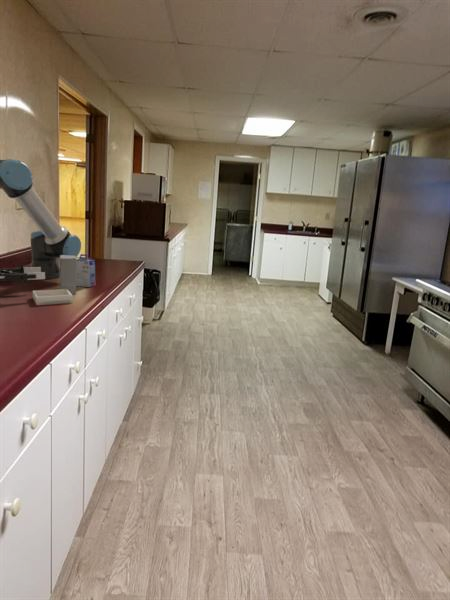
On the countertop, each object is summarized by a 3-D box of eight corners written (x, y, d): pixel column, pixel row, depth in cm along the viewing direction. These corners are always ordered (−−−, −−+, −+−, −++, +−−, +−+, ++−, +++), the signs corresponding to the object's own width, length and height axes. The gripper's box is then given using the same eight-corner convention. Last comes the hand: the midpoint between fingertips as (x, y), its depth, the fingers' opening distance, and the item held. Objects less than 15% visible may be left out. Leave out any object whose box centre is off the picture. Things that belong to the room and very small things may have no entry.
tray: (33, 298, 170) (32, 290, 170) (67, 295, 177) (66, 288, 176) (36, 305, 159) (36, 297, 159) (72, 302, 166) (72, 295, 165)
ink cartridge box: (96, 285, 200) (95, 254, 197) (90, 287, 195) (89, 256, 192) (77, 283, 202) (75, 253, 199) (70, 285, 197) (69, 254, 193)
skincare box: (59, 291, 184) (57, 254, 181) (76, 290, 187) (75, 254, 184) (60, 295, 177) (58, 257, 173) (78, 294, 180) (76, 257, 176)
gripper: (-16, 279, 176) (39, 276, 187) (-16, 290, 155) (47, 287, 166) (-18, 261, 175) (38, 259, 185) (-17, 270, 154) (46, 268, 164)
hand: (42, 272), depth 175 cm, fingers open, 13 cm apart
